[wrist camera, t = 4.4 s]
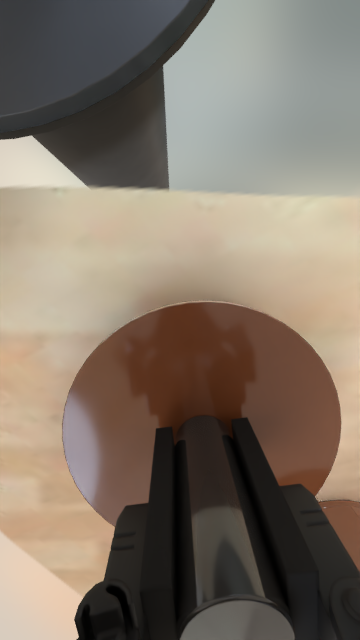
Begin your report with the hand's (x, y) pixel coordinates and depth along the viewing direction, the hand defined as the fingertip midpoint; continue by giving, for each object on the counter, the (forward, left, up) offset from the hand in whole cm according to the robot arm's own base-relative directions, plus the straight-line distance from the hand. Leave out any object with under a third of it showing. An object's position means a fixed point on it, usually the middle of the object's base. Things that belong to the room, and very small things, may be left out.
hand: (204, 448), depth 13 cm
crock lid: (0, 0, -1) cm, 1 cm away
